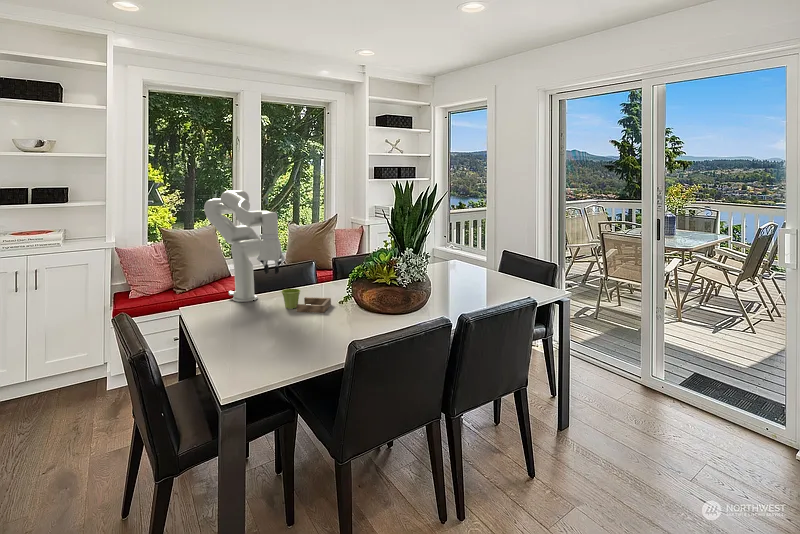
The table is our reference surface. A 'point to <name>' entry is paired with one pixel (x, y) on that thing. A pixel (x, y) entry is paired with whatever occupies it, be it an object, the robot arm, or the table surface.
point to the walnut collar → (314, 305)
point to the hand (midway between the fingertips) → (271, 273)
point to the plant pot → (291, 297)
